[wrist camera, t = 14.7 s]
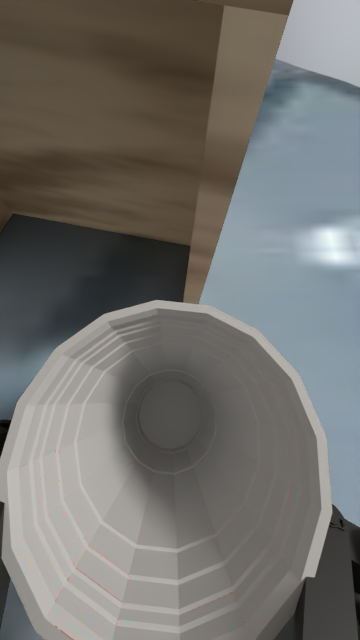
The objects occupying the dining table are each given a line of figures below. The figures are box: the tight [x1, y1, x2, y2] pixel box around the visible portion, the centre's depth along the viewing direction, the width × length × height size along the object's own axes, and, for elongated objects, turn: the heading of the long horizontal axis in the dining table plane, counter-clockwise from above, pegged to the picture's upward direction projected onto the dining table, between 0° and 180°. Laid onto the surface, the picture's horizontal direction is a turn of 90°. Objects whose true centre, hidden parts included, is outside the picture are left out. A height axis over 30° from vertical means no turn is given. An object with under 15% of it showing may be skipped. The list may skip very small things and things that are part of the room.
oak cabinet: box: [0, 0, 293, 304], centre depth 15 cm, size 14×26×20 cm, turn 79°
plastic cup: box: [0, 300, 332, 640], centre depth 12 cm, size 11×11×12 cm
